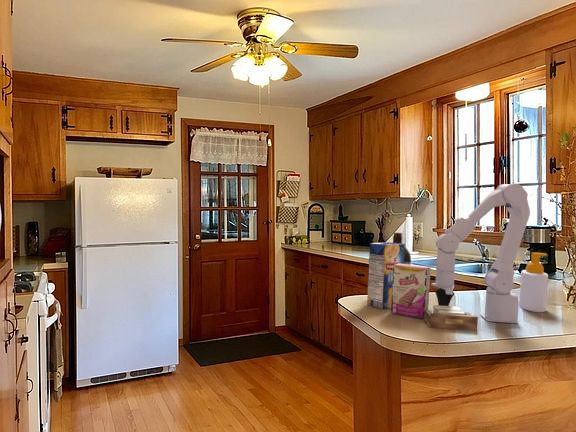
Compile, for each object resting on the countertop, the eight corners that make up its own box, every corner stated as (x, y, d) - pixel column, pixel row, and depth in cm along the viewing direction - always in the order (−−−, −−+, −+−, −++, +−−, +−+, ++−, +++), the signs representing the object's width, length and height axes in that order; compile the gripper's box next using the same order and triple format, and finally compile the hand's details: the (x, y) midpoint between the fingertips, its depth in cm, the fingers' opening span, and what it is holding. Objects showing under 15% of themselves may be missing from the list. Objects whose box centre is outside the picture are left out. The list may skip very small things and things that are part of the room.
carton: (456, 320, 151) (457, 306, 151) (464, 328, 142) (464, 313, 142) (432, 319, 152) (433, 305, 152) (438, 326, 143) (439, 311, 143)
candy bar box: (390, 314, 156) (392, 264, 155) (395, 311, 160) (397, 262, 160) (424, 319, 150) (427, 268, 150) (428, 316, 155) (431, 266, 154)
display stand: (468, 322, 149) (469, 309, 149) (477, 330, 140) (478, 317, 140) (424, 319, 151) (425, 306, 151) (430, 327, 141) (431, 314, 141)
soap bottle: (550, 313, 166) (554, 255, 165) (525, 311, 167) (529, 254, 166) (538, 305, 178) (542, 251, 178) (515, 303, 180) (518, 250, 179)
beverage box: (366, 305, 167) (369, 243, 166) (386, 301, 174) (389, 242, 173) (382, 309, 162) (385, 245, 161) (401, 305, 169) (405, 244, 168)
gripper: (428, 266, 163) (426, 306, 163) (437, 273, 148) (435, 316, 149) (449, 268, 162) (447, 307, 163) (460, 275, 148) (458, 318, 148)
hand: (443, 311), depth 156 cm, fingers closed
